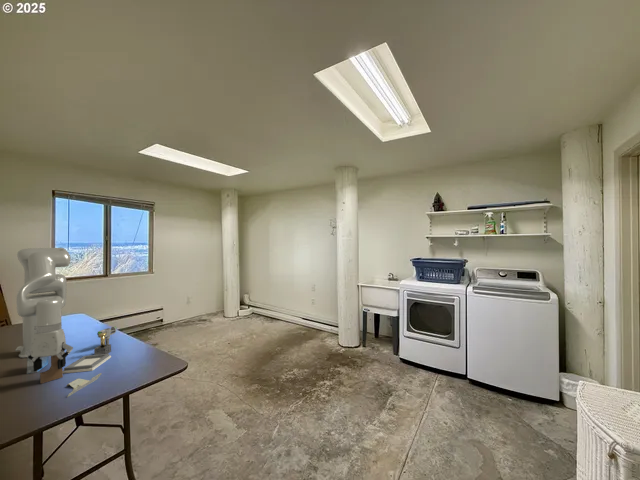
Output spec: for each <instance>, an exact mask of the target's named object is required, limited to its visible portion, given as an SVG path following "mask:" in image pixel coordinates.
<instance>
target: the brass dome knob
mask: <svg viewBox="0 0 640 480" xmlns="http://www.w3.org/2000/svg"><path fill="white" fill-rule="evenodd" d="M105 335H107V333H100V334H99V336H100V338H99V339H100V345H101V347H104V346H105V345H106V342H105Z"/></svg>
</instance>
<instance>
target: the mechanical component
mask: <svg viewBox="0 0 640 480" xmlns="http://www.w3.org/2000/svg"><path fill="white" fill-rule="evenodd" d="M100 333H107V335H105V345H107V344H110V339H111V336H112V335H114V334H116V333H117V327H116V326H111V328H110V327H108V328H104V329H101V330H99V331H97V338H99V339H100V336H99V334H100Z"/></svg>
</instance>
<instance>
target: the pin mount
mask: <svg viewBox="0 0 640 480" xmlns="http://www.w3.org/2000/svg"><path fill="white" fill-rule="evenodd" d="M93 352H94V354H93V355H100V354H110V353H111V352H112V343H111V344H110V343H109V344H107V345H106V344H105V346H104V347H101V344H100V345H98V346H96V347H94V351H93Z"/></svg>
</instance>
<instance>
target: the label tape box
mask: <svg viewBox="0 0 640 480" xmlns="http://www.w3.org/2000/svg"><path fill="white" fill-rule="evenodd" d="M49 357H50V356H45V357H41V358H40V359H42V368H41V369H39V370H37V371H34V368H33V362H31V359H29V358H28V356H27V357H26V358H27V359H26V362H27V364H26V374H35V373H39V372H40V371H41V370H42V369H44V368H45V367H46V366H48V365H49Z"/></svg>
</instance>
